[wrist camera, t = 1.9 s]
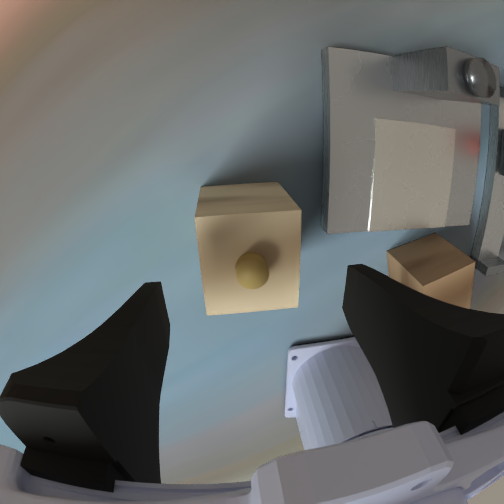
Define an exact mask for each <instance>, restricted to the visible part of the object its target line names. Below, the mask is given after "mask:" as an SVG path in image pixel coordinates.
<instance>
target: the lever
mask: <svg viewBox="0 0 504 504" xmlns="http://www.w3.org/2000/svg"><path fill="white" fill-rule="evenodd" d="M499 174H500V175H503V176H504V129H502V146H501V157H500V167H499Z"/></svg>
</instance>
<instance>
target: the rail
mask: <svg viewBox="0 0 504 504" xmlns="http://www.w3.org/2000/svg"><path fill="white" fill-rule="evenodd" d="M502 129H504V88H503V87H500V106H495V105H490V134H489V149H488V161H487V170H486V178H485V186H484V193H483V199H482V205H481V211H480V217H479V222H478V227H477V232H476V236H475V241H474V245H473V249H472V254H471V259H472V260H474V261H475V268H476V269H477V270H479V271H480V272H481V273H482V274H484V275H485V276H488V275H493V274H497V273H502V272H504V261H503V260H502V259H500V258H499V257H498V255H499V251H500V247H501V243H502V239H503V235H504V176H503V175H500V174H499V167H500V157H501V146H502Z"/></svg>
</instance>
